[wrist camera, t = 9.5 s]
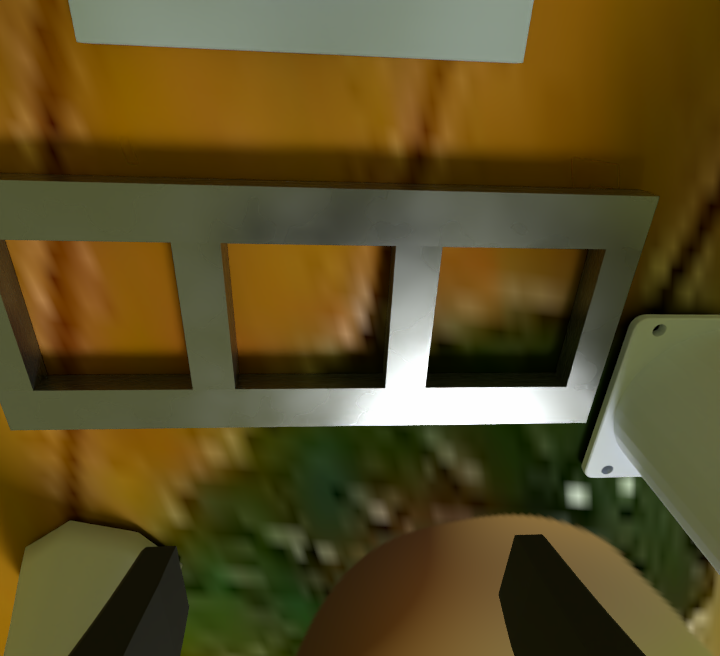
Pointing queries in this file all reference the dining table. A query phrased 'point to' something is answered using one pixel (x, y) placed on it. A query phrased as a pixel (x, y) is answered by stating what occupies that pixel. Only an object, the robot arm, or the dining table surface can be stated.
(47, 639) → the flask
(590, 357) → the grey slotted frame
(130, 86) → the dining table surface
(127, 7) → the pad
